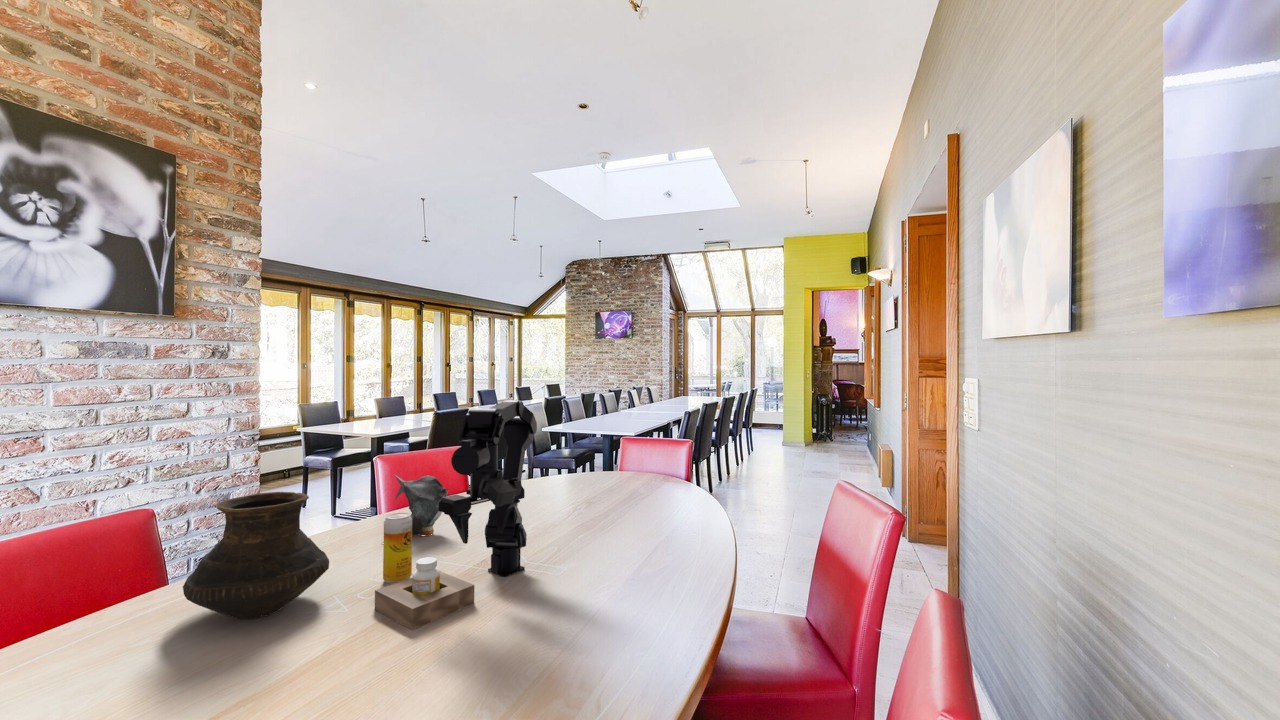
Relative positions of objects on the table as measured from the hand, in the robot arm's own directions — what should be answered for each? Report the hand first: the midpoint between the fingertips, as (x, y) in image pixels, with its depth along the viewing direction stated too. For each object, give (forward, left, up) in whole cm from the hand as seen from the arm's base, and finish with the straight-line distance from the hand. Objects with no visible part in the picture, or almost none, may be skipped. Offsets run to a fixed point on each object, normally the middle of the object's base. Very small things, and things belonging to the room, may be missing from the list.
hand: (483, 537), depth 115 cm
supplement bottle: (+10, -6, -13) cm, 17 cm away
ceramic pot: (+31, -32, -13) cm, 46 cm away
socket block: (+10, -6, -13) cm, 17 cm away
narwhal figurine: (-15, -50, -13) cm, 54 cm away
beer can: (+6, -24, -13) cm, 28 cm away
